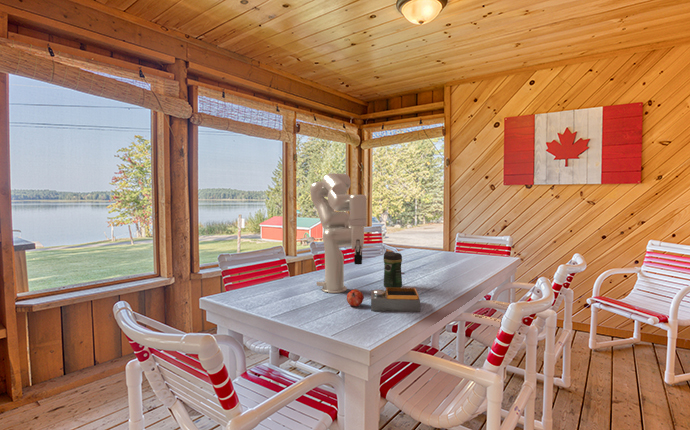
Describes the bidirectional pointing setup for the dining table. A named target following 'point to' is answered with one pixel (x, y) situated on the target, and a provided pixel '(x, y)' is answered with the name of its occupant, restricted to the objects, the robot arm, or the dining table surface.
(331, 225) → the robot arm
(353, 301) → the pomegranate
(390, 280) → the coffee jar
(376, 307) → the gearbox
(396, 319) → the dining table surface
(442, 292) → the dining table surface
